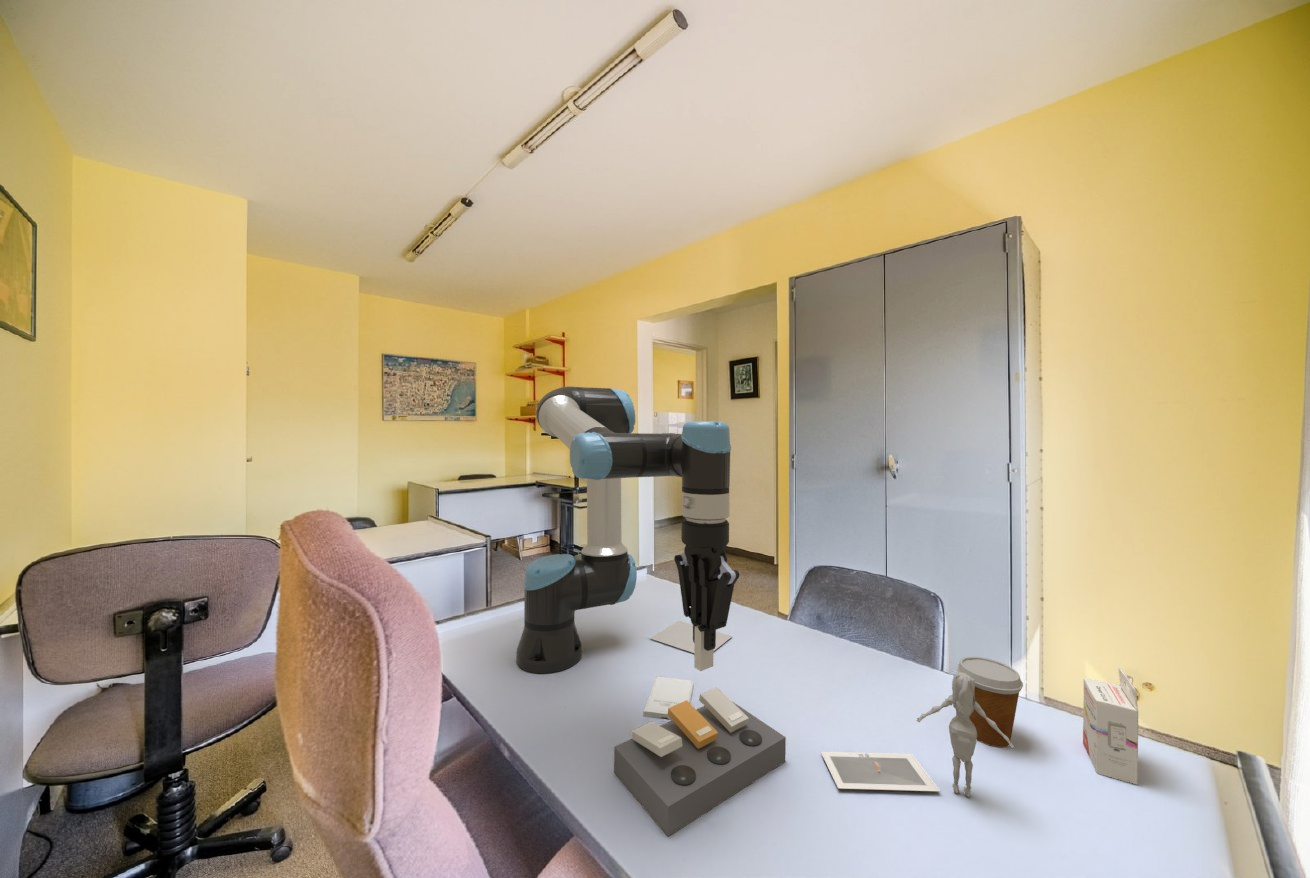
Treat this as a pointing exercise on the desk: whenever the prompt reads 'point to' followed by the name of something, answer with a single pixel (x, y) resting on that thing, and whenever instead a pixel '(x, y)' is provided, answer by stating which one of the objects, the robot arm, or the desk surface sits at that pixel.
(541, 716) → the desk surface
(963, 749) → the human figurine
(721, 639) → the paper stack
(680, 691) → the external hard drive
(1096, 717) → the ink cartridge box
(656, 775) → the rocker switch box
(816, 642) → the desk surface
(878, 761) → the white picture frame
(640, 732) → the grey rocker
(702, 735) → the orange labeled box
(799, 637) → the desk surface
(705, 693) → the block
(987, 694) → the disposable coffee cup
